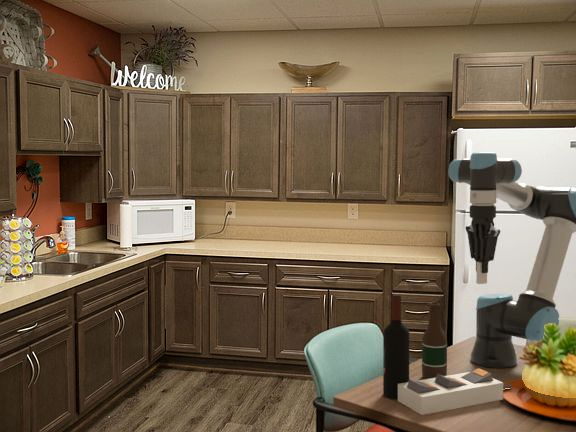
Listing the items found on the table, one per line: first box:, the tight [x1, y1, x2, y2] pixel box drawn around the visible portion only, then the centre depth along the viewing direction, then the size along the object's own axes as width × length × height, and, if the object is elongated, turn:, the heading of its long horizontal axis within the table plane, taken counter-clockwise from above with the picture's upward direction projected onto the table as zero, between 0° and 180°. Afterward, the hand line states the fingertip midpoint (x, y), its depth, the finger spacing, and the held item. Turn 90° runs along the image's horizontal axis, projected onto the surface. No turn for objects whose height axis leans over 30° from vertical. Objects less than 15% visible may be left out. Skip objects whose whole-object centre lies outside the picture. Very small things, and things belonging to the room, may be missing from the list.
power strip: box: [397, 371, 513, 416], centre depth 196 cm, size 36×12×5 cm, turn 113°
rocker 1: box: [407, 378, 439, 393], centre depth 191 cm, size 6×6×2 cm
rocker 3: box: [462, 367, 493, 384], centre depth 198 cm, size 6×6×2 cm
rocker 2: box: [435, 374, 465, 388], centre depth 194 cm, size 6×6×2 cm
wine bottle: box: [382, 294, 410, 401], centre depth 198 cm, size 8×8×30 cm
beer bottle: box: [421, 301, 448, 379], centre depth 214 cm, size 8×8×24 cm
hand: (481, 283), depth 201 cm, fingers closed
